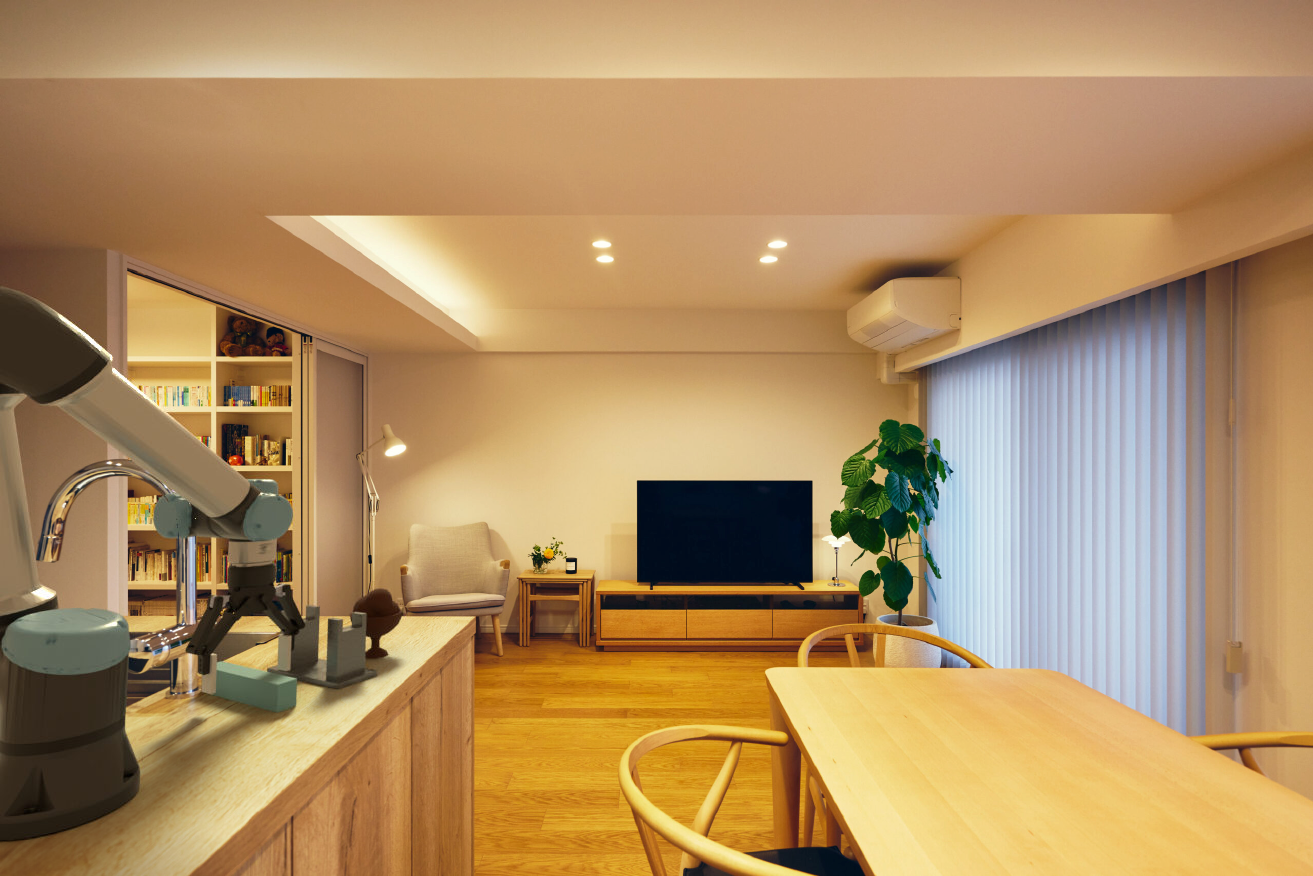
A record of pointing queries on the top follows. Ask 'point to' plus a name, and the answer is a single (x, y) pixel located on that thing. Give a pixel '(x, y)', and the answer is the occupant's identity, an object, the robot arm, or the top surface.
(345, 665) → the hook standards
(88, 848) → the top surface
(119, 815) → the top surface
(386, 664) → the top surface
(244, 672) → the rail
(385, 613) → the ice cream bowl
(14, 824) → the robot arm
